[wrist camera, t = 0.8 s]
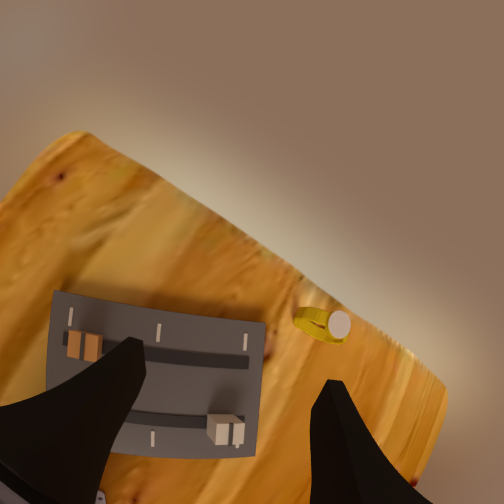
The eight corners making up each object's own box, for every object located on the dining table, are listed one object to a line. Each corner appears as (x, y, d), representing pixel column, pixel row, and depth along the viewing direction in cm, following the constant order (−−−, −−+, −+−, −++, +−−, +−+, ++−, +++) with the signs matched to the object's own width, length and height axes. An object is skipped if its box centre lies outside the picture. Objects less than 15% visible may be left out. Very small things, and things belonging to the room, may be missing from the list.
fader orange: (101, 359, 20) (96, 363, 18) (74, 353, 20) (66, 357, 17) (103, 334, 21) (98, 335, 18) (76, 329, 20) (68, 329, 17)
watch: (281, 326, 30) (308, 321, 25) (291, 304, 32) (320, 295, 26) (323, 350, 31) (355, 349, 26) (332, 329, 32) (364, 324, 27)
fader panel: (248, 450, 25) (255, 456, 23) (52, 432, 18) (47, 439, 16) (258, 323, 29) (266, 322, 27) (59, 292, 22) (53, 289, 20)
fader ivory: (231, 433, 23) (244, 445, 20) (206, 434, 22) (216, 446, 19) (233, 413, 23) (246, 423, 21) (207, 413, 23) (217, 424, 20)
